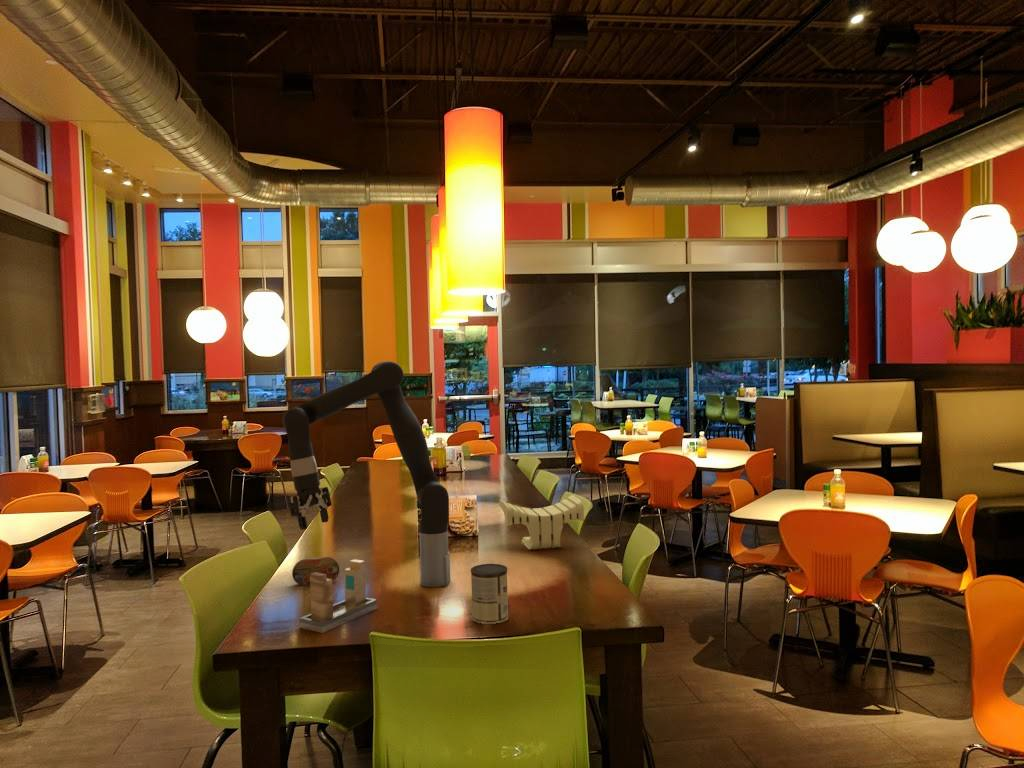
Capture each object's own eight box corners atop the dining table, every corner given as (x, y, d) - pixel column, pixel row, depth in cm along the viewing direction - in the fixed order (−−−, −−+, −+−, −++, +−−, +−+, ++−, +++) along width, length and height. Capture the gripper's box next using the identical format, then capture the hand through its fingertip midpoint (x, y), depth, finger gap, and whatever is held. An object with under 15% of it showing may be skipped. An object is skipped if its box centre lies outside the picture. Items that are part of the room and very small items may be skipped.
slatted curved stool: (508, 553, 276) (507, 506, 275) (500, 543, 291) (499, 498, 291) (584, 547, 281) (583, 501, 281) (572, 538, 297) (572, 494, 297)
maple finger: (322, 616, 206) (321, 570, 205) (333, 618, 203) (332, 572, 203) (311, 620, 202) (309, 574, 202) (322, 623, 200) (320, 576, 199)
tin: (292, 586, 239) (291, 561, 239) (292, 584, 242) (292, 558, 242) (339, 582, 243) (339, 557, 243) (339, 579, 246) (338, 554, 246)
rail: (355, 604, 220) (354, 556, 219) (377, 608, 215) (375, 559, 215) (300, 627, 201) (298, 575, 201) (322, 633, 197) (320, 579, 196)
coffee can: (472, 612, 210) (471, 564, 210) (507, 611, 211) (506, 562, 210) (471, 625, 200) (470, 574, 200) (509, 624, 200) (507, 573, 200)
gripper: (295, 476, 213) (305, 531, 213) (330, 467, 225) (340, 518, 225) (278, 478, 217) (288, 532, 217) (313, 469, 229) (323, 520, 229)
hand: (314, 525), depth 221 cm, fingers open, 8 cm apart
